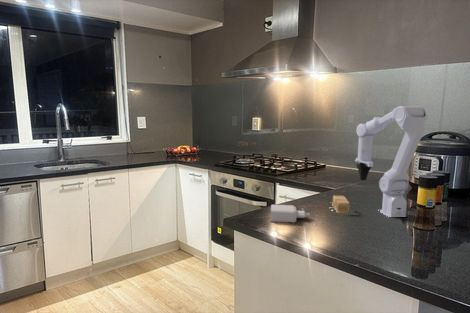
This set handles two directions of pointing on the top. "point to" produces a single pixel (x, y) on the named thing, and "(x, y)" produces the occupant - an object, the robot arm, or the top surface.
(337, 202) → the oak block
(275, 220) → the white bottle
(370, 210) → the top surface
